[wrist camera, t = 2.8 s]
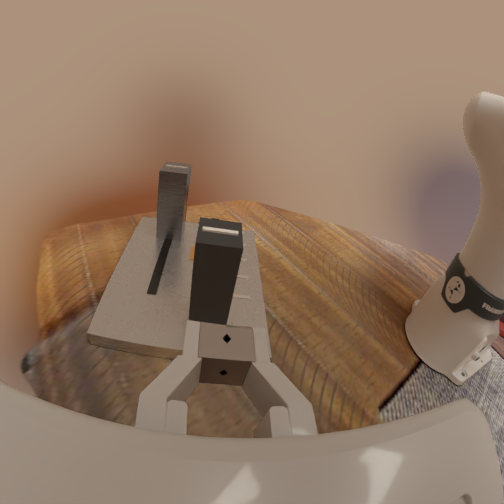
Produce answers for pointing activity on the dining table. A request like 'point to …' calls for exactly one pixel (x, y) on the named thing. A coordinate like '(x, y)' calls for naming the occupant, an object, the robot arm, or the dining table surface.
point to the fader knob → (215, 270)
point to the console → (167, 280)
